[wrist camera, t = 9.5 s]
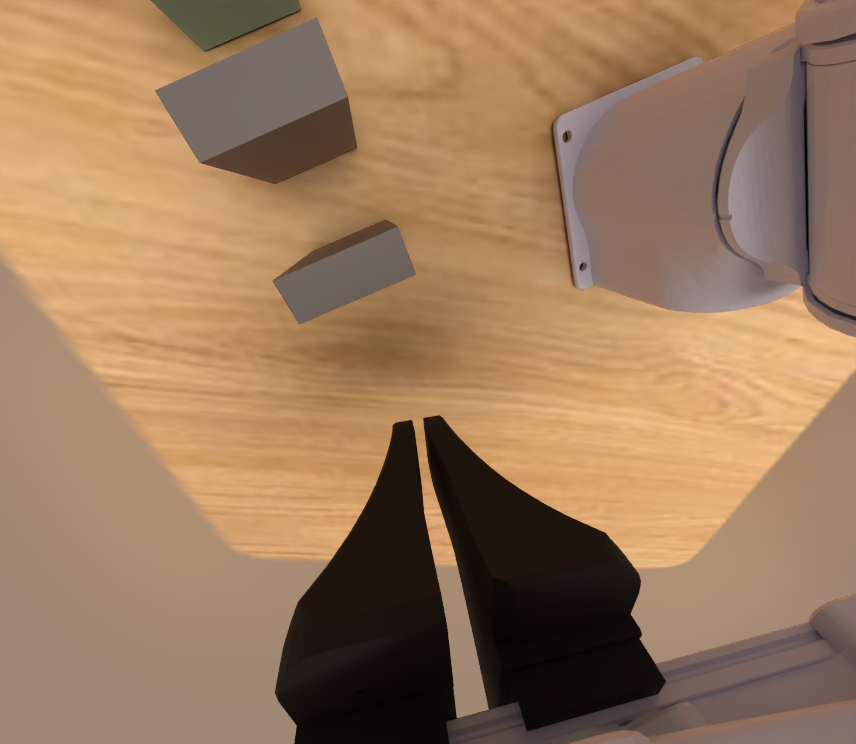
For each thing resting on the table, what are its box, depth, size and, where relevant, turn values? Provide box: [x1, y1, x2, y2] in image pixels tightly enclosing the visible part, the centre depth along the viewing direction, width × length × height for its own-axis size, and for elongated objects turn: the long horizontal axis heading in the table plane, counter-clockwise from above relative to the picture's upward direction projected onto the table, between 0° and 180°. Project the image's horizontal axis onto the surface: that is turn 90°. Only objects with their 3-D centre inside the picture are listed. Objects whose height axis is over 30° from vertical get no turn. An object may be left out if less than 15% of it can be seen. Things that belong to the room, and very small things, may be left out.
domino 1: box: [155, 17, 357, 184], centre depth 12 cm, size 2×4×8 cm, turn 111°
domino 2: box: [273, 220, 416, 324], centre depth 14 cm, size 2×4×8 cm, turn 111°
